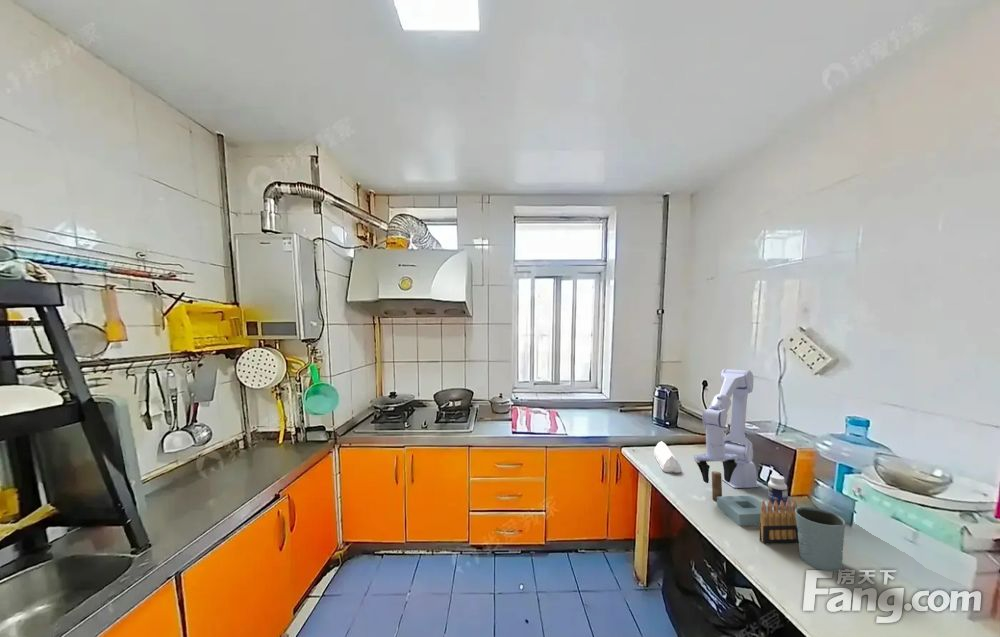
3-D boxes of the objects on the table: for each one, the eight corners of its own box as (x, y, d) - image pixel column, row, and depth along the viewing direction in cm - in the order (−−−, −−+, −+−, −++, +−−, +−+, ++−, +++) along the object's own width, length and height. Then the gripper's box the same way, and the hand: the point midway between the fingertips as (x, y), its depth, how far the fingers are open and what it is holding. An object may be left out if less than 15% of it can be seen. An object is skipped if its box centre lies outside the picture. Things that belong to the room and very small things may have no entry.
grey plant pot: (788, 556, 103) (786, 511, 103) (809, 545, 107) (807, 502, 107) (834, 578, 94) (832, 529, 94) (855, 566, 98) (853, 519, 98)
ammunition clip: (763, 544, 108) (762, 502, 109) (759, 540, 110) (757, 498, 110) (801, 543, 108) (800, 501, 108) (796, 539, 110) (795, 498, 110)
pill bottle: (764, 503, 132) (763, 475, 132) (774, 500, 134) (773, 472, 134) (781, 510, 127) (780, 481, 127) (791, 506, 129) (790, 477, 129)
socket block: (751, 505, 130) (751, 495, 130) (777, 524, 118) (777, 513, 118) (717, 506, 130) (716, 496, 130) (739, 525, 118) (739, 514, 118)
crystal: (687, 465, 157) (673, 446, 181) (671, 456, 159) (659, 438, 182) (678, 480, 158) (665, 459, 181) (662, 471, 159) (651, 451, 183)
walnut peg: (719, 497, 137) (718, 471, 137) (724, 501, 134) (723, 474, 134) (710, 498, 137) (709, 471, 137) (715, 502, 134) (714, 474, 134)
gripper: (701, 447, 131) (702, 487, 131) (742, 446, 131) (744, 485, 131) (690, 441, 138) (691, 478, 138) (730, 439, 138) (731, 477, 138)
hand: (716, 481), depth 135 cm, fingers open, 7 cm apart
